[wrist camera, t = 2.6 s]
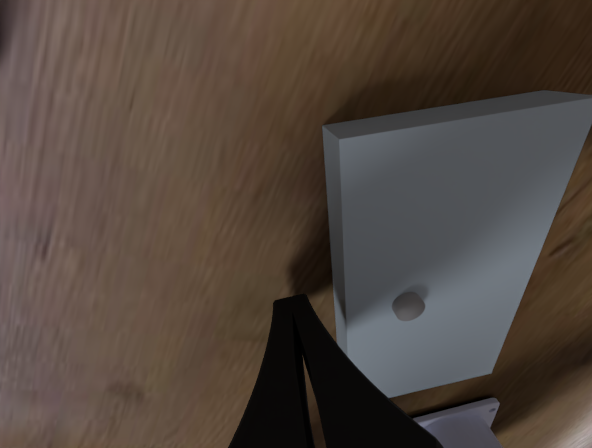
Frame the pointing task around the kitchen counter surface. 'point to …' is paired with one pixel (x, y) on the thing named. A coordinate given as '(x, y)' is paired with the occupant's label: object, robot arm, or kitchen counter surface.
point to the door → (443, 229)
